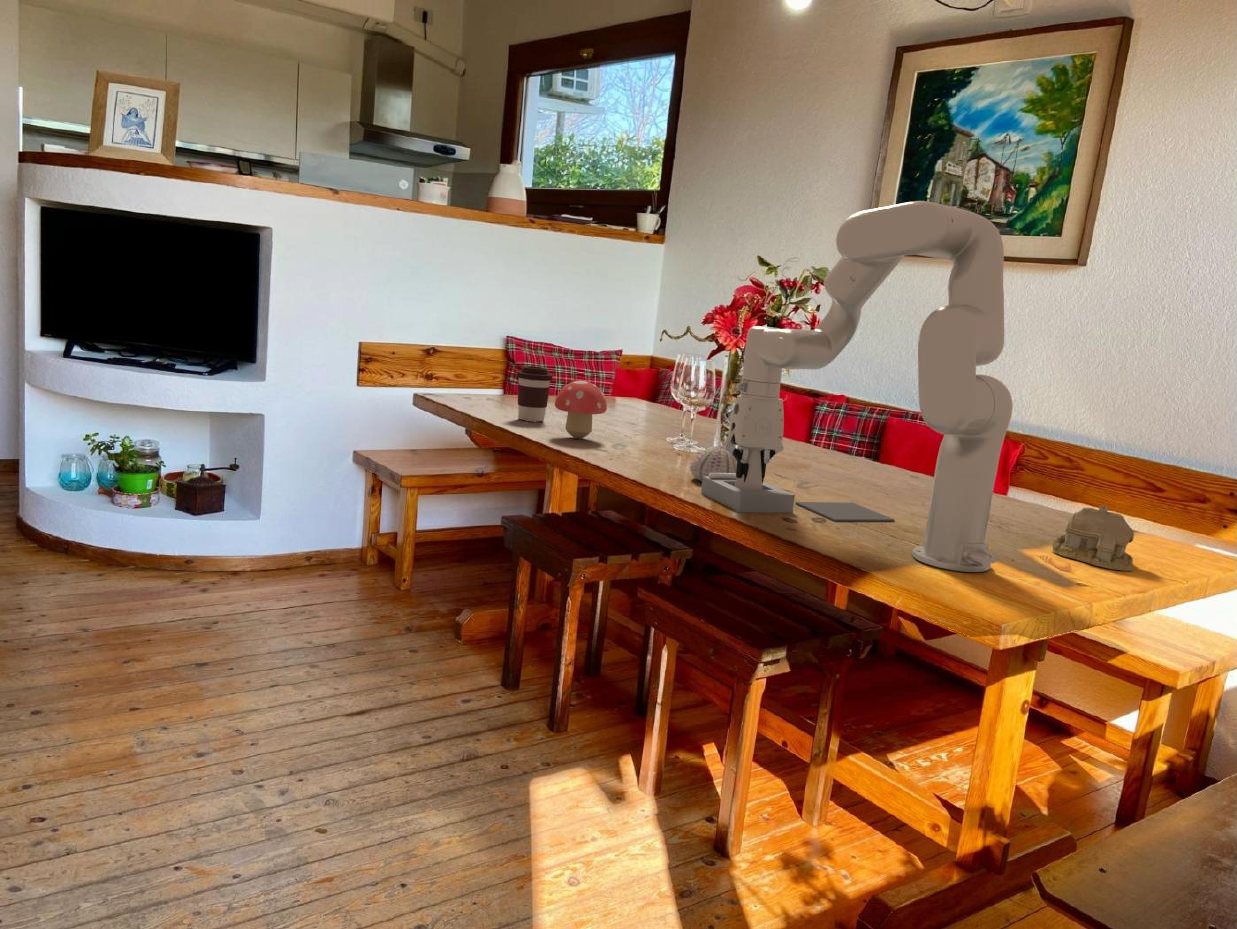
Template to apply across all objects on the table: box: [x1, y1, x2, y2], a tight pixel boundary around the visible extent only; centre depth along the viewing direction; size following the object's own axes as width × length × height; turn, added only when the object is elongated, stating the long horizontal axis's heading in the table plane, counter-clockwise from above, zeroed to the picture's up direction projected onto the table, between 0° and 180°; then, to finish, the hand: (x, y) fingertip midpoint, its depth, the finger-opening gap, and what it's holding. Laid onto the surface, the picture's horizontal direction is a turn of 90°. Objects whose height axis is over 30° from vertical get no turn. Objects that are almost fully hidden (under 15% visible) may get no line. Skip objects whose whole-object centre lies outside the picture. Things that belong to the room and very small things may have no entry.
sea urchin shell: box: [689, 445, 737, 482], centre depth 219 cm, size 13×14×8 cm
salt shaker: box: [734, 449, 763, 490], centre depth 199 cm, size 6×6×13 cm
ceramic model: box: [1051, 505, 1135, 572], centre depth 181 cm, size 14×11×10 cm
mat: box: [794, 501, 896, 522], centre depth 200 cm, size 14×14×1 cm
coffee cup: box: [516, 365, 553, 422], centre depth 281 cm, size 10×10×15 cm
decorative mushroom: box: [554, 380, 608, 440], centre depth 258 cm, size 13×13×15 cm
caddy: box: [700, 473, 796, 513], centre depth 200 cm, size 16×12×5 cm
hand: (749, 481), depth 200 cm, fingers closed on salt shaker, 3 cm apart
